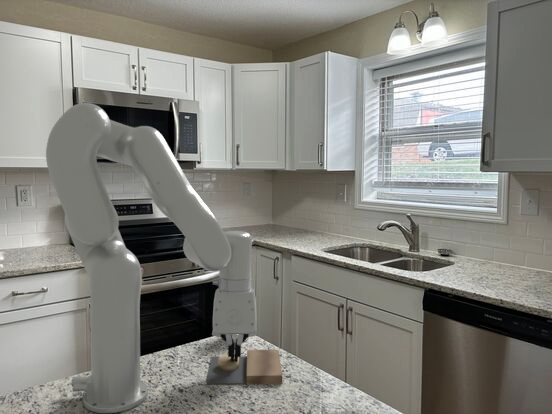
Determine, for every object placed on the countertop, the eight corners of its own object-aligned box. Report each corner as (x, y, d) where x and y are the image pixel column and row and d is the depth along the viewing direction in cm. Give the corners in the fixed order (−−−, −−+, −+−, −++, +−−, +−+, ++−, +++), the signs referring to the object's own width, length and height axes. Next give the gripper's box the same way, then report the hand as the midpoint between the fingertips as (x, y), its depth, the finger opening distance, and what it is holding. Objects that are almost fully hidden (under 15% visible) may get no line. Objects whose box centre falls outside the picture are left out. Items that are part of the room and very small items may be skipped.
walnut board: (246, 384, 96) (246, 375, 96) (247, 357, 110) (247, 349, 110) (282, 383, 97) (282, 375, 96) (278, 357, 111) (278, 349, 110)
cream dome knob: (215, 370, 102) (215, 362, 102) (221, 361, 107) (221, 353, 107) (236, 372, 101) (236, 364, 101) (240, 363, 106) (240, 355, 106)
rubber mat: (206, 384, 96) (206, 383, 96) (211, 357, 110) (211, 356, 110) (246, 384, 96) (246, 383, 96) (247, 357, 110) (247, 356, 110)
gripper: (201, 288, 97) (201, 366, 99) (267, 288, 98) (266, 366, 99) (204, 279, 105) (204, 353, 106) (266, 280, 105) (265, 352, 107)
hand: (234, 359), depth 103 cm, fingers closed
